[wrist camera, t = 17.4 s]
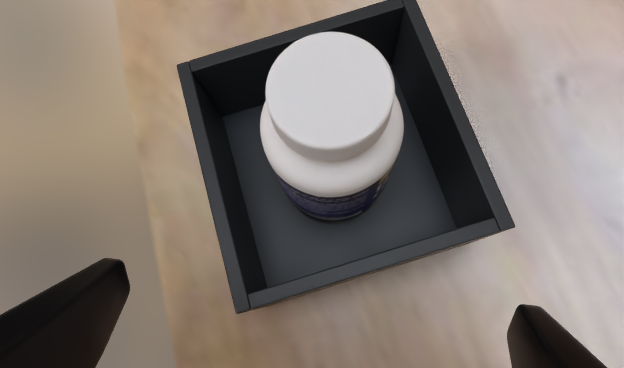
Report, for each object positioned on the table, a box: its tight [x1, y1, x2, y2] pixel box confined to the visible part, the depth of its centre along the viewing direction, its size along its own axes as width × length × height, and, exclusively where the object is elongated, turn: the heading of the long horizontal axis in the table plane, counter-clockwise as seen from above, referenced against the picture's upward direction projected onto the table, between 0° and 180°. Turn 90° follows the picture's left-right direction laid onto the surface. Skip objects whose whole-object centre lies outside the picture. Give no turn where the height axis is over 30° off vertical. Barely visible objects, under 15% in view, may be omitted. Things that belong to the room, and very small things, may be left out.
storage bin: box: [177, 0, 515, 314], centre depth 20 cm, size 11×11×6 cm
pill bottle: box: [260, 32, 404, 223], centre depth 17 cm, size 5×5×10 cm
